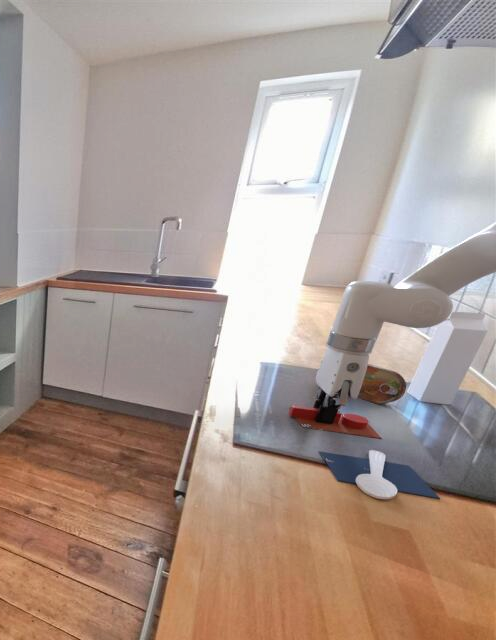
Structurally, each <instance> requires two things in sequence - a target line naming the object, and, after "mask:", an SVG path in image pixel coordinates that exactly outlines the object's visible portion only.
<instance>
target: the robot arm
mask: <svg viewBox="0 0 496 640" xmlns="http://www.w3.org/2000/svg"><path fill="white" fill-rule="evenodd" d="M495 273H496V221H495V222H494V223H492V224H490V225H489V226H487V227H485V228H484V229H482V230H481V231H479V232H477V233H475V234H474V235H471V236H470V237H468V238H467V239H465V240H464V241H462V242H460V243H458V244H456V245H455V246H453V247H451V248H449V249H448V250H445V251H444V252H443V253H441V254H440V255H438V256H436V257H434V258H433V259H431V260H430V261H428V262H427V263H425V264H424V265H422V266H420V268H418V269H416V270H415V271H413V272H412V273H411V274H410V275H408V276H407V277H406V278H404V279H403V280H401V281H400V282H399V283H397V284H396V285H395V286H394V285H393V284H390V283H386V282H380V281H372V280H356V281H352V282H350V283H349V284H347V285H346V287H345V290H344V292H343V294H342V297H341V300H340V303H339V305H338V309H337V311H336V314H335V317H334V320H333V323H332V326H331V328H330V332H329V334H328V337H327V340H326V343H325V347H326V350H325V352H324V354H323V357H322V359H321V362H320V364H319V367H318V369H317V372H316V376H315V382H316V384H317V385H318V391H317V394H316V397H315V399H316V400H315V401H314V403H313V407H312V408H319V411H318V413H317V416H316V419H315V421H316V422H318V423H325V424H333V422H334V420H335V417H336V415H337V412H338V411H339V410H340V409H341V407H344V406H345V407H346V405H347V402H348V398H349V399H350V400H351V401H353V400H357V398H359V397H358V394H359V391H360V389H361V386H362V383H363V380H364V377H365V373H366V370H367V365H368V364H369V361H370V360H369V359H370V355H371V354H372V353H373V350H374V348H375V345H376V344H377V343H376V342H377V340H378V338H379V335H380V332H381V330H382V328H383V325H384V323H389V324H394V325H398V326H402V327H406V328H412V329H428V328H431V327H436V326H437V325H438V324H440V323H442V322H443V321H445V320H446V319H447V318H449V317H450V315H451V313H452V312H453V309H454V304H453V300H452V299H451V297H450V296H452V295H453V294H456V292H458V291H459V290H461V289H463V288H464V287H466V286H468V285H470V284H472V283H473V282H476V281H478V280H480V279H482V278H485V277H487V276H489V275H492V274H495Z"/></svg>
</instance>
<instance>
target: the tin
mask: <svg viewBox="0 0 496 640" xmlns="http://www.w3.org/2000/svg"><path fill="white" fill-rule="evenodd" d="M406 390H407V382H406V379H405V378H404V377H403V376H402V374H400V373H398V372H397V371H394V370H392V369H389V368H388V369H387V368H384V367H381V366H377V365H373V364H370V363H368V365H367V370H366V373H365V377H364V380H363V383H362V386H361V389H360V391H359V394H358V397H357V398H360V399H363V400H364V401H365V400H366V401H367V402H370V403H373V404H377V405H378V404H379V405H380V404H381V405H384V404H385V405H386V404H389V403H394V402H396V401H398V400H400V399H401V398H402V397H403V396H404V394H405V393H406V392H407V391H406Z"/></svg>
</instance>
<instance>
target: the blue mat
mask: <svg viewBox="0 0 496 640" xmlns="http://www.w3.org/2000/svg"><path fill="white" fill-rule="evenodd" d="M319 452H320V453H319ZM318 453H319V455H320V454H321V455H322V456H323V457H324V458H325V459H326V458H327V459H328V460H331V461H334V462H332V463H331V462H325V464H326V463H327V464H326V465H327V467H328V468H329V470H330V471H331V473H332V474H333V476H334V477H335V479H336V480H337V482H340V483H347V484H352V485H357V484H356V478H357V476H358V475H360V474H371V471H370V463H369V458H364V457H358V456H352V455H347V454H346V455H345V454H339V453H333V452H327V451H320V450H319V451H318ZM321 455H320V456H321ZM322 456H321V457H322ZM364 468H366V469H365V470H364ZM367 469H369V470H367ZM398 476H399V477H398ZM382 477H383V478H384V479H386V480H388V481H389V482H391V483H392V484H394V485H395V486H396V488H397V493H402V494H408V495H415V496H420V497H426V498H432V499H436V500H437V499H438V500H440V499H441V497H440V496H439V495H438V494H437V493H436V492H435V491H434V490H433V489H432V487H430V486H429V485H428V484H427V482H425V481H424V479H422V478H421V476H419V474H418V473H417V472H416V471H415V470H413V469H412V467H411V466H410V465H408V464H402V463H395V462H390V461H385V462H384V467H383V473H382Z"/></svg>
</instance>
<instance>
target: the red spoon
mask: <svg viewBox="0 0 496 640" xmlns="http://www.w3.org/2000/svg"><path fill="white" fill-rule="evenodd" d="M290 407H291V409H290V408H289V412H288V415H289V417H290V418H295V419H296V418H302V419H309V420H315V419H316V416H317V413H318V411H319V408H313V407H311V406H304V405H294V404H291V406H290ZM342 414H343V416H342V419H341V423H342V424H344V425H346V426H348V427H351V428H356V429H365V428H366V427H367V424H369V422H370V421H369V419H368V418H366V417H364V416H363V415H359V414H355V413H341V412H340V411H339V410H338V412H337V415H336V417H335V420H334V422H333V423H338V422H339V420H340V417H341V415H342Z"/></svg>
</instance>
